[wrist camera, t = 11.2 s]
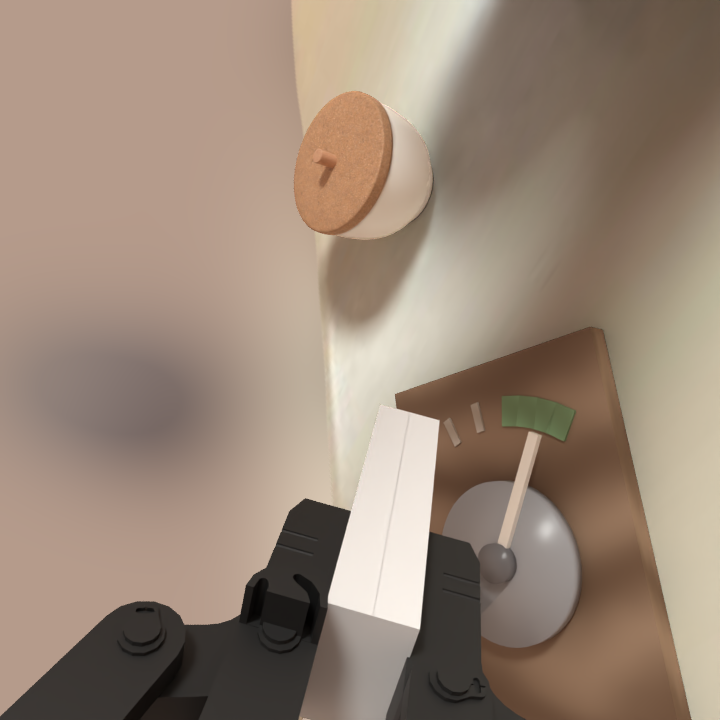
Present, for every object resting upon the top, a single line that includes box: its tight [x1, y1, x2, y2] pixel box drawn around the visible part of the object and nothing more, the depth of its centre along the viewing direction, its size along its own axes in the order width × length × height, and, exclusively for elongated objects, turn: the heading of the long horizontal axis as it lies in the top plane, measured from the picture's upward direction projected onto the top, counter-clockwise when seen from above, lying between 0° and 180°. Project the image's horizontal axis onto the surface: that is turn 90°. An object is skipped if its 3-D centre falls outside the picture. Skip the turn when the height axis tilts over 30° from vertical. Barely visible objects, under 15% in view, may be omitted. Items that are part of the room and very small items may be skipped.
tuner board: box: [395, 327, 691, 720], centre depth 42 cm, size 28×17×2 cm, turn 9°
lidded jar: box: [294, 91, 433, 240], centre depth 52 cm, size 11×11×9 cm
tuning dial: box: [298, 432, 582, 720], centre depth 38 cm, size 19×10×15 cm, turn 138°
